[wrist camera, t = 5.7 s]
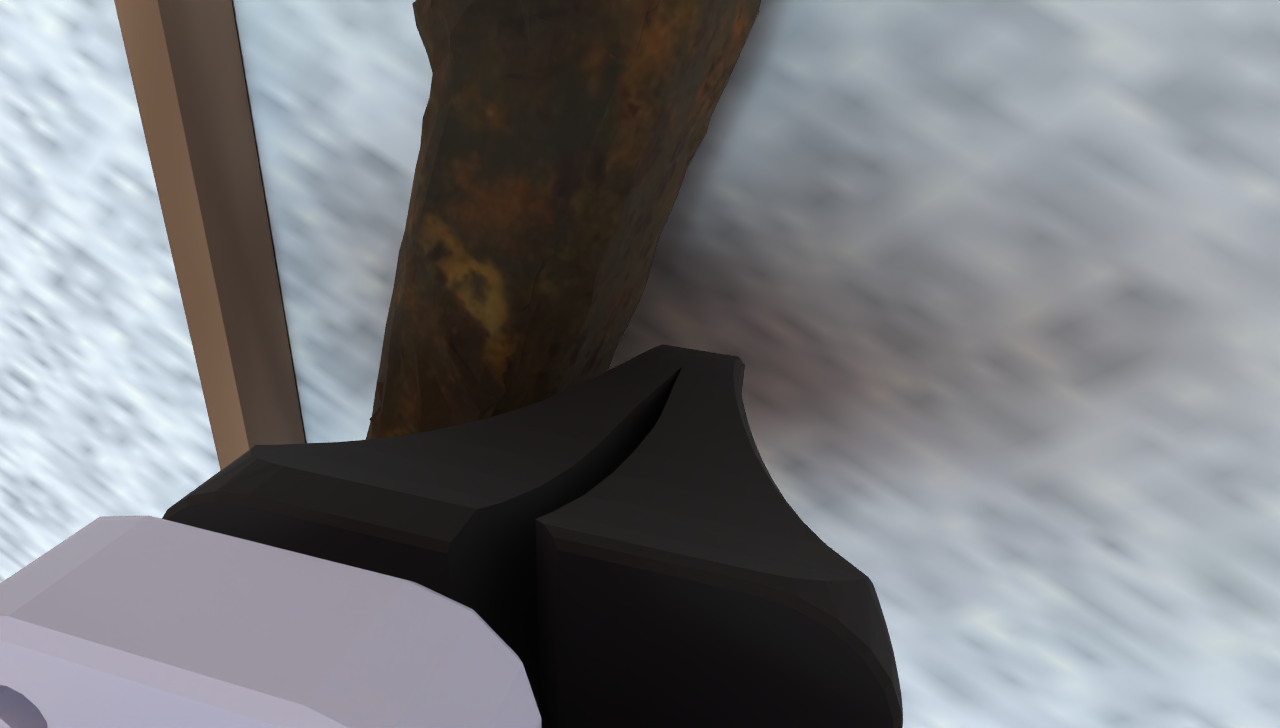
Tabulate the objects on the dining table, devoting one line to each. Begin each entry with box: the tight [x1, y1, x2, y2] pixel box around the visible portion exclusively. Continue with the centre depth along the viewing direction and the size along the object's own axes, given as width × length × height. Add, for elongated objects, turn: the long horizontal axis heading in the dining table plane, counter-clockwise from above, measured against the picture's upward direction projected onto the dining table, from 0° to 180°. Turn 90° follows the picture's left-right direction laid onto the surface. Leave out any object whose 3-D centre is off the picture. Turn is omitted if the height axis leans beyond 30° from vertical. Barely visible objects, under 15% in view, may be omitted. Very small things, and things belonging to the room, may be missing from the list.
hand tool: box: [366, 0, 761, 440], centre depth 11 cm, size 19×4×5 cm, turn 159°
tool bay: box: [114, 0, 305, 470], centre depth 14 cm, size 10×27×2 cm, turn 178°
